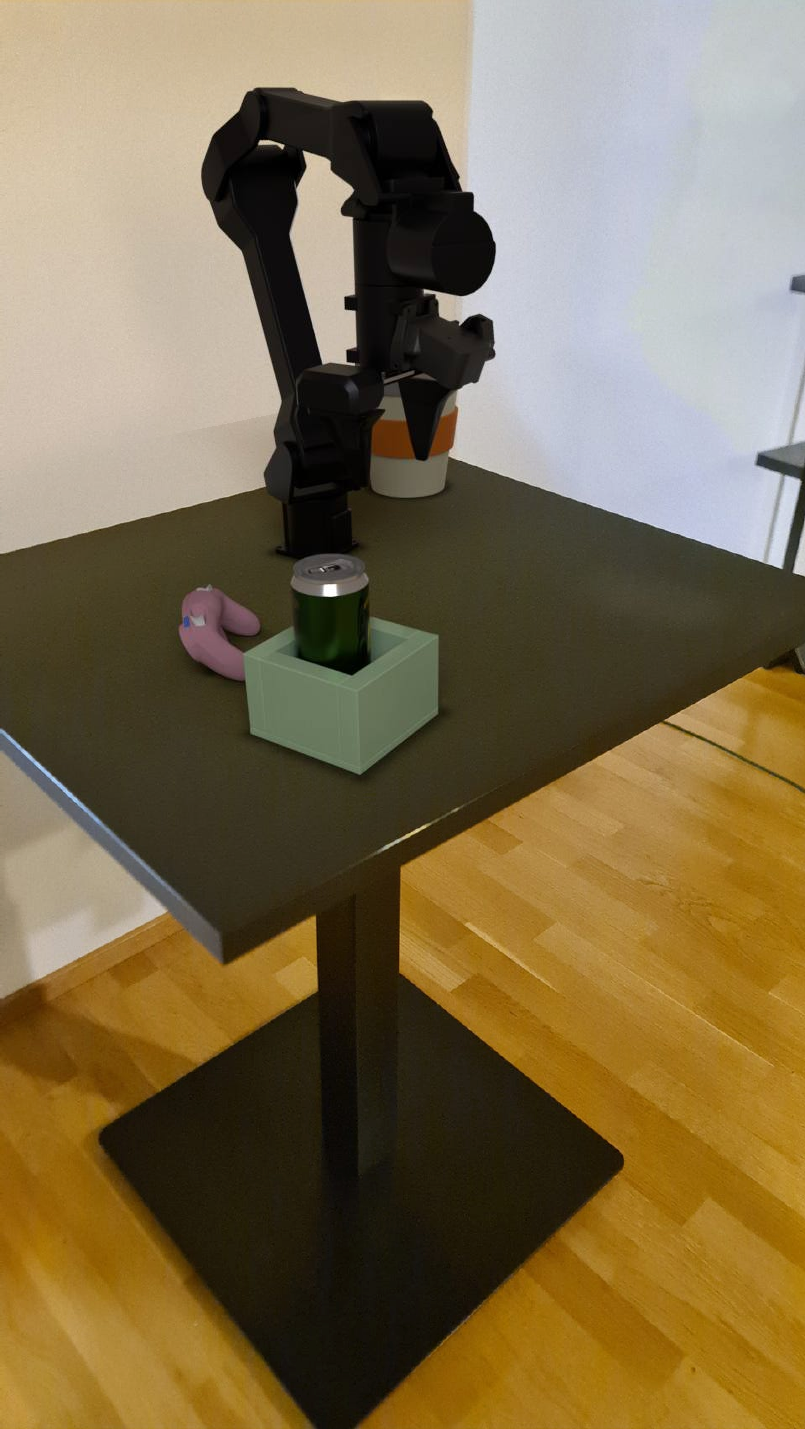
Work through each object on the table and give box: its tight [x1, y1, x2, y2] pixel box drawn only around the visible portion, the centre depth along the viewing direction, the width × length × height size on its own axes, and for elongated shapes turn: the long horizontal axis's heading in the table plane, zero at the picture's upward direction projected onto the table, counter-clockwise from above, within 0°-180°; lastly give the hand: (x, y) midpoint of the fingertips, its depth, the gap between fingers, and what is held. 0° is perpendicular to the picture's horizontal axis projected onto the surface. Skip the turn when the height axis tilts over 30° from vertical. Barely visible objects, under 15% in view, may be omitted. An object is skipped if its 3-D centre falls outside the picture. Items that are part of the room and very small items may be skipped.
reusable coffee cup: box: [354, 363, 459, 499], centre depth 122 cm, size 12×13×15 cm
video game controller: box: [178, 583, 261, 682], centre depth 84 cm, size 10×5×7 cm, turn 5°
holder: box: [243, 615, 440, 776], centre depth 74 cm, size 10×10×7 cm
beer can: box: [290, 553, 371, 676], centre depth 72 cm, size 5×5×12 cm
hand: (392, 473), depth 90 cm, fingers open, 9 cm apart
